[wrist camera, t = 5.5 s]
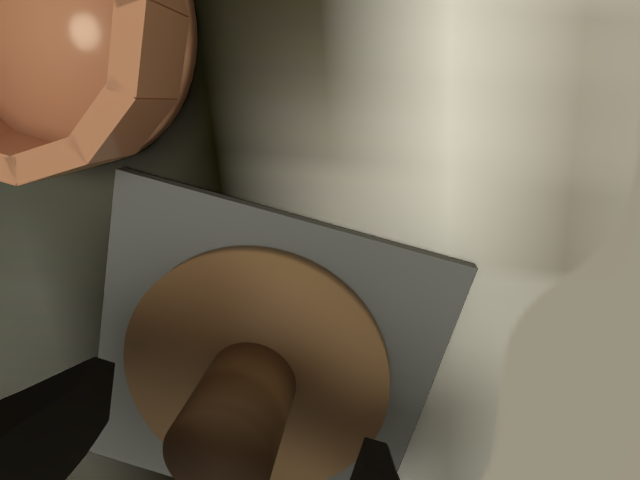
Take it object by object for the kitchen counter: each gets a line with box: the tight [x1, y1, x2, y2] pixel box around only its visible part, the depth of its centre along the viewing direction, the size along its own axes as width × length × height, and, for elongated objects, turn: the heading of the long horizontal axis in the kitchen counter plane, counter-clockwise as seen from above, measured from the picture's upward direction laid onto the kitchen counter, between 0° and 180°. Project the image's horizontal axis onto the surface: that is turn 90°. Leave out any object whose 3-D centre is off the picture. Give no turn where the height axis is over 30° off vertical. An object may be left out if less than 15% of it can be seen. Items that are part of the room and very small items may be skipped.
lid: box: [123, 245, 390, 480], centre depth 13 cm, size 9×9×4 cm
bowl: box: [0, 0, 198, 186], centre depth 11 cm, size 8×8×3 cm
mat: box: [89, 167, 478, 480], centre depth 15 cm, size 11×11×1 cm
